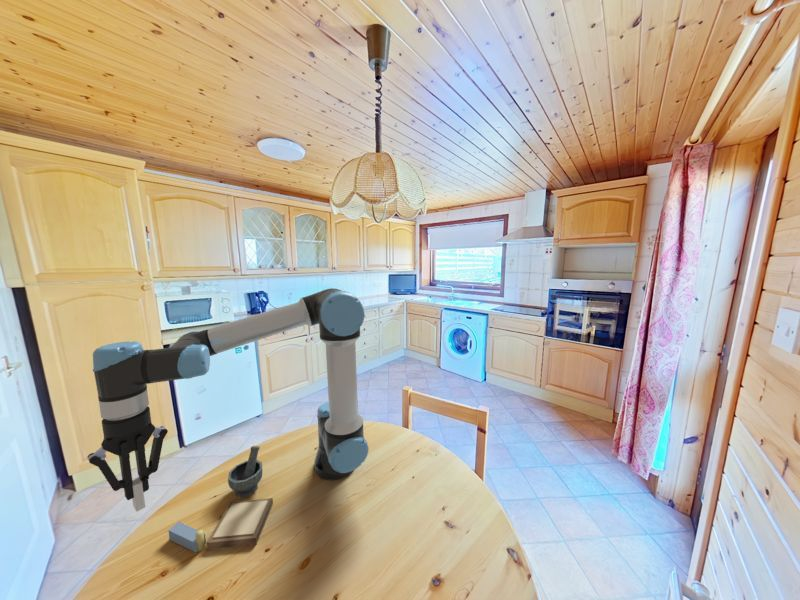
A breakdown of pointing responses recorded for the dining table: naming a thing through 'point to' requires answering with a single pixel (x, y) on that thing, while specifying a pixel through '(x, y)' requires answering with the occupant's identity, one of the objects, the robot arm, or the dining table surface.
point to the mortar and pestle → (246, 475)
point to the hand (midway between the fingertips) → (139, 506)
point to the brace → (187, 536)
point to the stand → (240, 524)
